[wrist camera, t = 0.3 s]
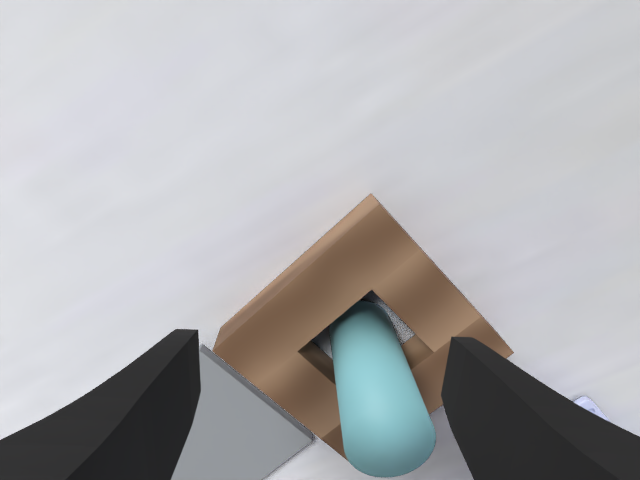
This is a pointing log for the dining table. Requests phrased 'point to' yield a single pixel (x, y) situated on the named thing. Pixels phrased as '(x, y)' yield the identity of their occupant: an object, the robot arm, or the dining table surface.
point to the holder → (332, 301)
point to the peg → (377, 395)
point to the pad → (236, 429)
